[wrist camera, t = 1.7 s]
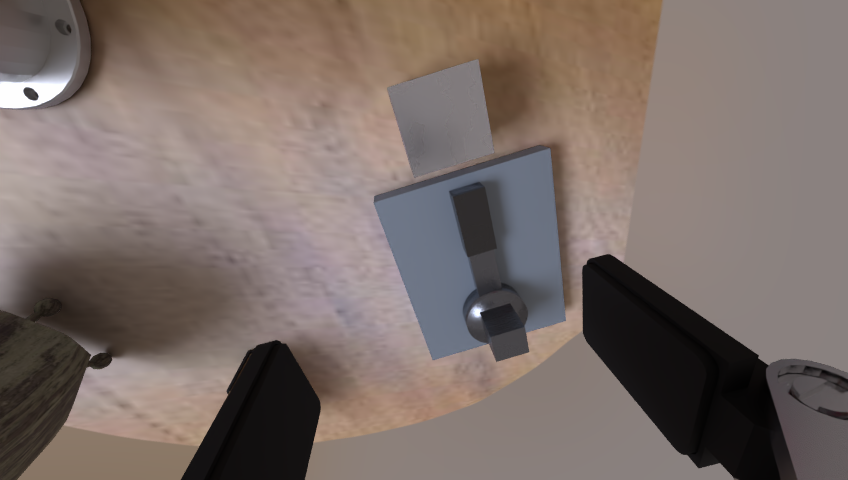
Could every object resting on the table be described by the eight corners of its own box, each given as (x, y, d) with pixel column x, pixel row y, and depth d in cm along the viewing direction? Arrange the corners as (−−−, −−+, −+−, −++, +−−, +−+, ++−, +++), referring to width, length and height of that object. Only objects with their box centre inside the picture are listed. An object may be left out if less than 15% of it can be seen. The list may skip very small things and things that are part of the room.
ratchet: (429, 197, 26) (438, 218, 21) (498, 175, 26) (524, 192, 21) (469, 337, 34) (483, 377, 29) (523, 321, 34) (547, 358, 29)
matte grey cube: (387, 91, 24) (387, 87, 19) (458, 68, 24) (478, 58, 19) (409, 162, 27) (414, 177, 21) (472, 142, 27) (494, 152, 21)
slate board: (374, 196, 28) (373, 202, 26) (539, 145, 27) (550, 148, 26) (430, 347, 36) (432, 360, 35) (556, 309, 36) (565, 320, 34)
